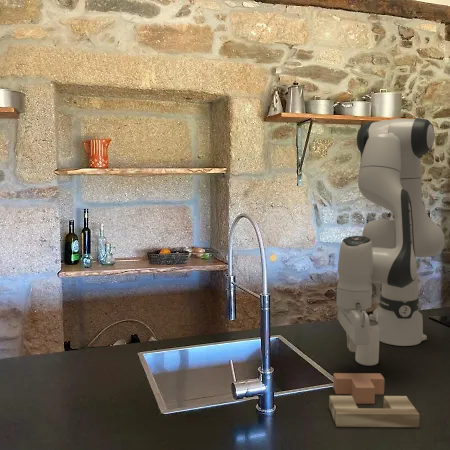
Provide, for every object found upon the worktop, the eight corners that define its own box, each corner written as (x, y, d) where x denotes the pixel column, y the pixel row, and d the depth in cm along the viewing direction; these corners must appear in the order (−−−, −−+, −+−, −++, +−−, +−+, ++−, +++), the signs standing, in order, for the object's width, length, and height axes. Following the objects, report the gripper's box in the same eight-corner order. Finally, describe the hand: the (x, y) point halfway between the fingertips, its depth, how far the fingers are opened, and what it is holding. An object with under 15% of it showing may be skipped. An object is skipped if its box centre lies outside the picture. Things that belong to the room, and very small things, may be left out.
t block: (333, 388, 128) (333, 373, 128) (380, 388, 128) (380, 373, 127) (340, 403, 120) (340, 387, 119) (390, 403, 119) (390, 387, 119)
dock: (329, 407, 118) (329, 395, 117) (405, 408, 117) (406, 396, 117) (336, 426, 109) (336, 413, 109) (418, 427, 109) (419, 414, 108)
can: (379, 367, 141) (381, 326, 139) (355, 365, 142) (357, 324, 140) (377, 358, 147) (378, 319, 145) (354, 356, 148) (355, 317, 147)
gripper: (377, 310, 119) (374, 365, 121) (356, 289, 140) (354, 337, 141) (351, 309, 119) (348, 364, 121) (334, 289, 140) (332, 336, 141)
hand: (351, 349), depth 131 cm, fingers closed
